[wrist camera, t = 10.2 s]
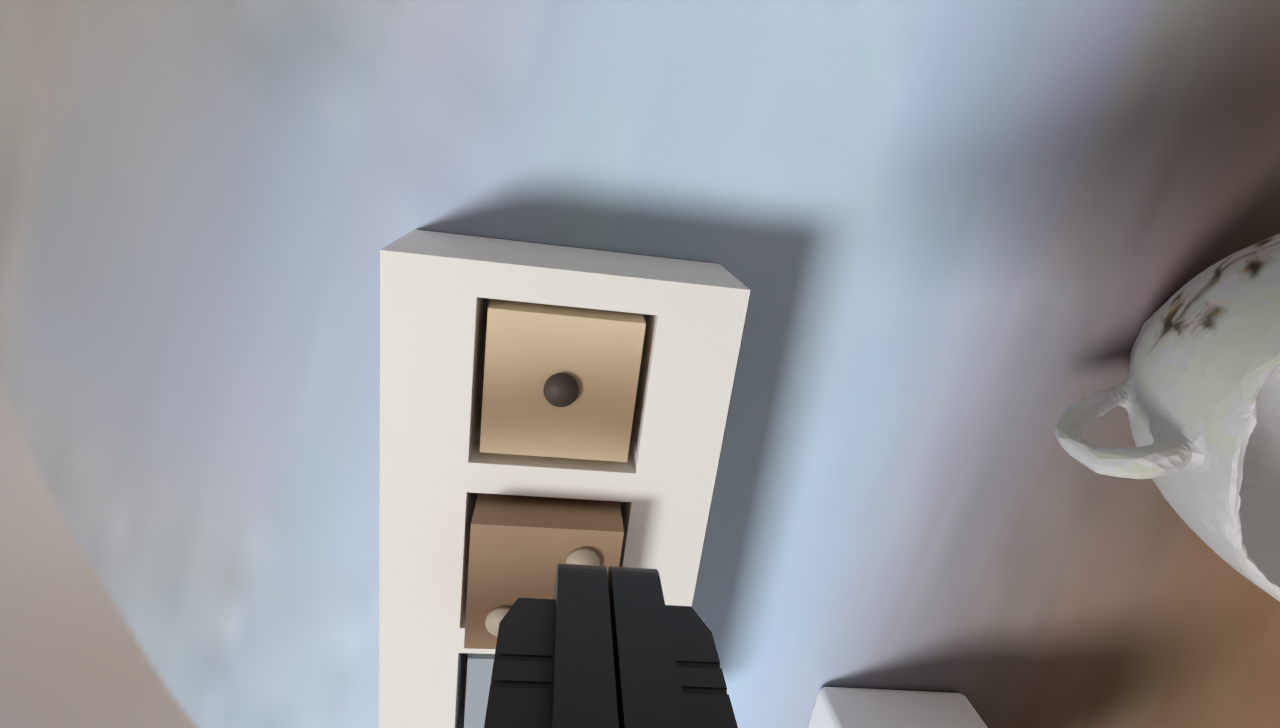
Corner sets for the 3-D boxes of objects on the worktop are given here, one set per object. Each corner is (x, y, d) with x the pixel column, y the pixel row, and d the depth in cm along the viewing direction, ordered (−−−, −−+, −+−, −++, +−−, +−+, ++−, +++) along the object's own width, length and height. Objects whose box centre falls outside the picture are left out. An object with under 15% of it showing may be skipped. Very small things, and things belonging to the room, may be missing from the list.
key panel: (414, 229, 21) (380, 249, 17) (719, 263, 22) (750, 290, 18) (405, 696, 27) (378, 787, 23) (646, 700, 28) (657, 787, 24)
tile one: (497, 288, 20) (487, 309, 18) (637, 302, 21) (646, 324, 18) (489, 417, 22) (478, 454, 19) (620, 428, 22) (627, 464, 20)
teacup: (1387, 152, 23) (1776, 160, 16) (1317, 460, 28) (1597, 581, 20) (983, 224, 23) (1188, 267, 15) (975, 527, 27) (1132, 679, 19)
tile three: (477, 607, 24) (466, 662, 22) (596, 611, 25) (600, 665, 22) (471, 700, 25) (461, 761, 23) (584, 702, 26) (586, 762, 23)
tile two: (481, 480, 21) (470, 526, 18) (618, 489, 22) (624, 535, 19) (474, 594, 22) (463, 652, 20) (603, 599, 23) (607, 656, 20)
